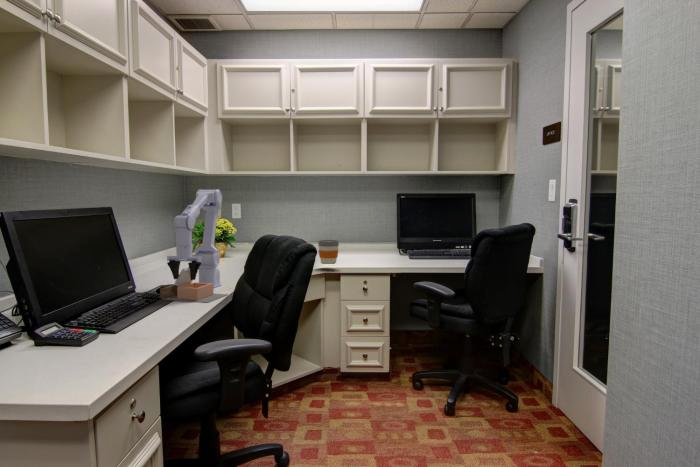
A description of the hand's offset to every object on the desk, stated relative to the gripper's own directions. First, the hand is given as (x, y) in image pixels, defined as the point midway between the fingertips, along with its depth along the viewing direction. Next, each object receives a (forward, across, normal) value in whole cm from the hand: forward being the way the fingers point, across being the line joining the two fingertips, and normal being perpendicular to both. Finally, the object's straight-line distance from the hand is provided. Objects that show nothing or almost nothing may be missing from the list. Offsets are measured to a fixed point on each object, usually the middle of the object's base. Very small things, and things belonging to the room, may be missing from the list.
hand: (184, 279), depth 162 cm
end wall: (+7, -6, +1) cm, 9 cm away
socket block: (+7, +5, +1) cm, 8 cm away
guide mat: (+7, +3, +1) cm, 8 cm away
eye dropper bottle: (+3, -4, +3) cm, 6 cm away
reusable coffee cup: (+5, +31, +96) cm, 101 cm away
